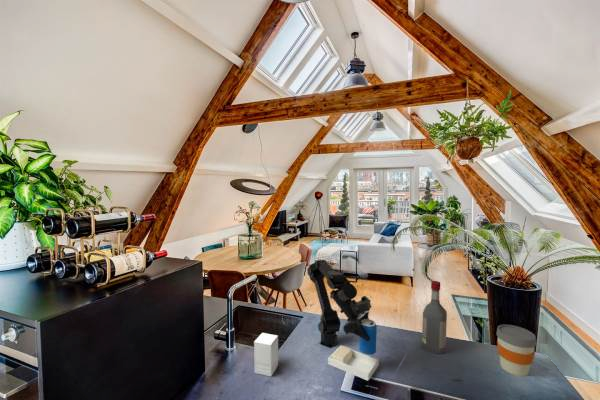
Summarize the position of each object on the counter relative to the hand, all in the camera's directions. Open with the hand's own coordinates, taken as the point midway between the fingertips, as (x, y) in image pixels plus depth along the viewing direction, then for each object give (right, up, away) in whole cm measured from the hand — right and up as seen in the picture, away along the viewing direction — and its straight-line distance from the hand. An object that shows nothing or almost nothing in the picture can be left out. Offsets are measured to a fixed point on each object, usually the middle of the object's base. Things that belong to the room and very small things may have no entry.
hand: (371, 336), depth 112 cm
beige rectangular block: (-11, -12, +5) cm, 17 cm away
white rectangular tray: (-7, -13, +2) cm, 15 cm away
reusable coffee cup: (+57, -14, +1) cm, 59 cm away
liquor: (+32, -13, +15) cm, 38 cm away
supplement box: (-41, -13, 0) cm, 44 cm away
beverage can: (-1, -7, +1) cm, 7 cm away
